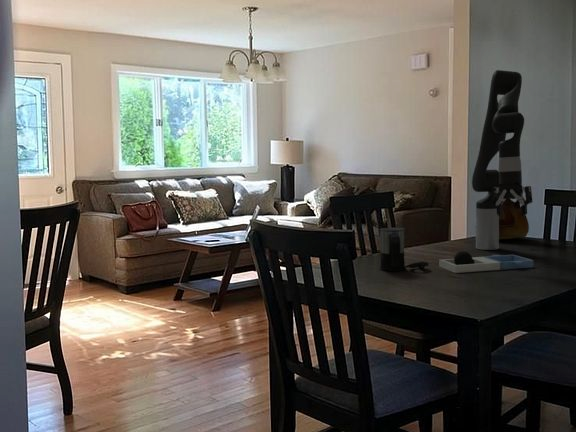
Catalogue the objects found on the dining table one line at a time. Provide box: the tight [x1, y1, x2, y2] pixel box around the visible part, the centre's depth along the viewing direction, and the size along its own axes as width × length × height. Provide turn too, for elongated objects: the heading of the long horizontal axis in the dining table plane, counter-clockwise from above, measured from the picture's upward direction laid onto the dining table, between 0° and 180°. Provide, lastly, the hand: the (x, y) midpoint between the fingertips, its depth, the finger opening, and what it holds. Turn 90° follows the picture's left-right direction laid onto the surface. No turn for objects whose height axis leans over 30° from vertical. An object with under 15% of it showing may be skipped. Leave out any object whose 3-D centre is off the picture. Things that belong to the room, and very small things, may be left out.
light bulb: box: [453, 250, 477, 265], centre depth 233 cm, size 6×6×10 cm
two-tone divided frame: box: [438, 254, 534, 274], centre depth 236 cm, size 17×30×3 cm, turn 102°
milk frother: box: [379, 227, 430, 272], centre depth 235 cm, size 14×16×15 cm
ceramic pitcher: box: [499, 191, 530, 241], centre depth 298 cm, size 20×20×30 cm
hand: (511, 216), depth 231 cm, fingers open, 8 cm apart
